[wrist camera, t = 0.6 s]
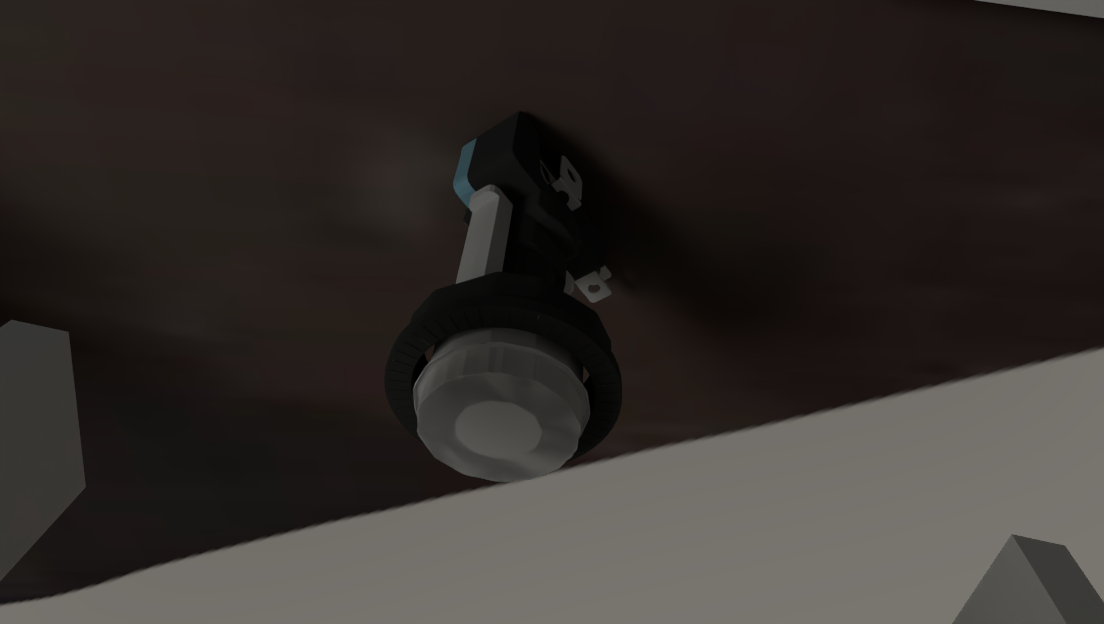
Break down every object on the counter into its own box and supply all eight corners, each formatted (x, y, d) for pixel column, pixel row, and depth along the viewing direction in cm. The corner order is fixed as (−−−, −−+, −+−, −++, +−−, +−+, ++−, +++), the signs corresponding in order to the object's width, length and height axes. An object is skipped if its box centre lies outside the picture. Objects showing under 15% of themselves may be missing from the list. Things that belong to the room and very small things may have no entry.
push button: (670, 236, 25) (696, 490, 18) (536, 302, 27) (509, 555, 20) (554, 71, 22) (526, 298, 14) (411, 162, 24) (322, 402, 16)
